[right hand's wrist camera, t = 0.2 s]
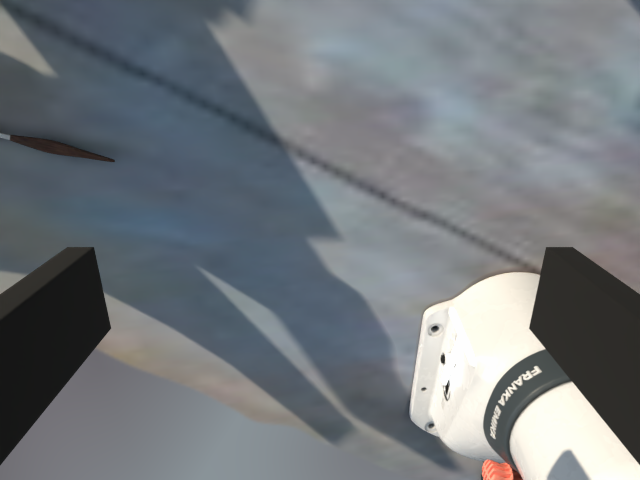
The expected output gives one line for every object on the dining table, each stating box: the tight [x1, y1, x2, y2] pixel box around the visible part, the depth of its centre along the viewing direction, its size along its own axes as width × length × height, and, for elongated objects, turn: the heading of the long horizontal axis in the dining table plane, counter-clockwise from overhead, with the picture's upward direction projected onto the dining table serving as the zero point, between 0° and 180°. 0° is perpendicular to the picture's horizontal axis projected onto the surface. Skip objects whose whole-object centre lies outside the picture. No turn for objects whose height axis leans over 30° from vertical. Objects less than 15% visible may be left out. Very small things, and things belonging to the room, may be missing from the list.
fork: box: [0, 133, 115, 162], centre depth 38 cm, size 3×16×2 cm, turn 76°
